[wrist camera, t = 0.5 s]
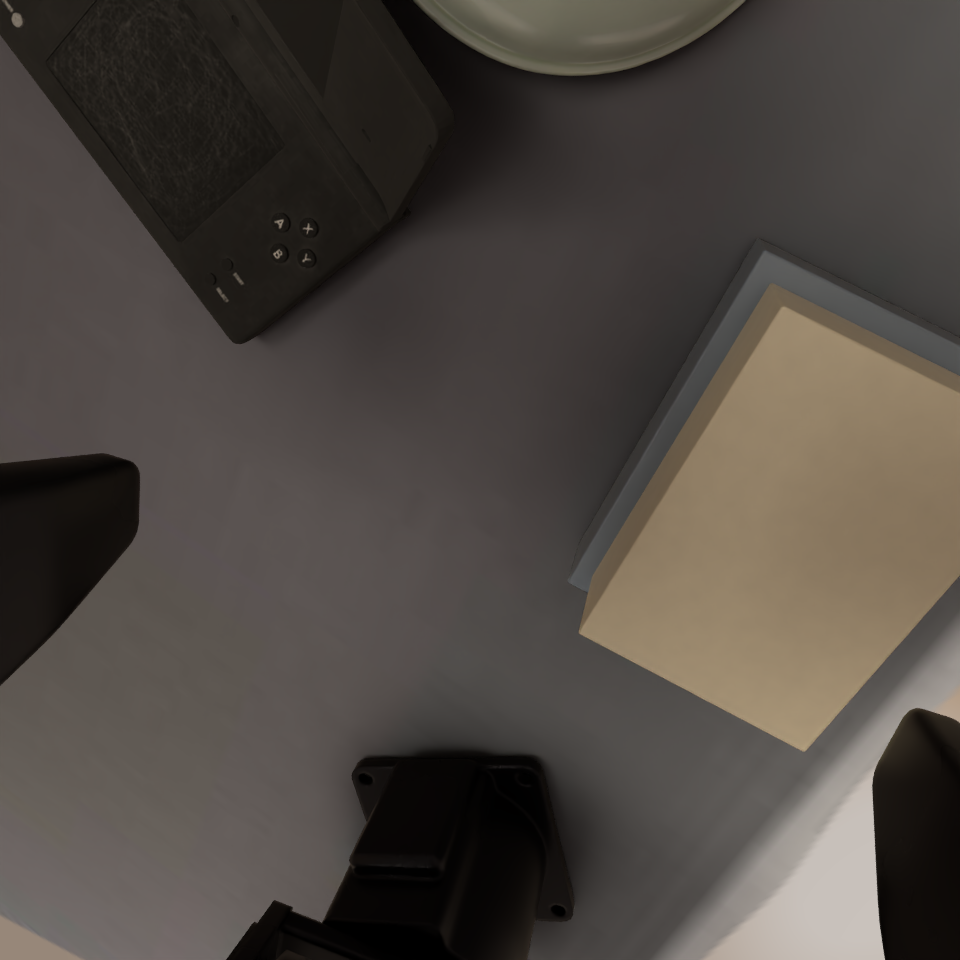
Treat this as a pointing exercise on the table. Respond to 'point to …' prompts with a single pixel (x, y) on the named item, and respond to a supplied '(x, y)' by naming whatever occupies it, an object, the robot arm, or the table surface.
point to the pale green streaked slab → (577, 30)
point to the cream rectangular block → (790, 523)
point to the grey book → (709, 354)
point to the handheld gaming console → (243, 131)
